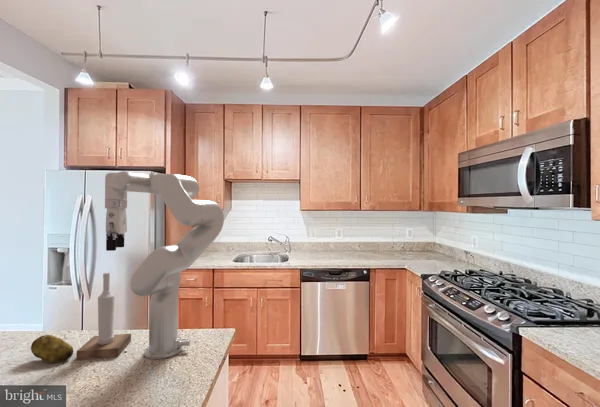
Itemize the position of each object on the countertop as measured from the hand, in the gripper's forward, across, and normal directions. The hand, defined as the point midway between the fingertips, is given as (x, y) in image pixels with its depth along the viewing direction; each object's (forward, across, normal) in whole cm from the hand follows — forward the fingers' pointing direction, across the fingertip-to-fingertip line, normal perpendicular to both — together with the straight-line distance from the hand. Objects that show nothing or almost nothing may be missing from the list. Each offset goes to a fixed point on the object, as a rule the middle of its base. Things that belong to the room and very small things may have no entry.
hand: (115, 248), depth 123 cm
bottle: (+33, -7, 0) cm, 34 cm away
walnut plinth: (+36, -7, +1) cm, 37 cm away
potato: (+36, -12, +16) cm, 41 cm away
